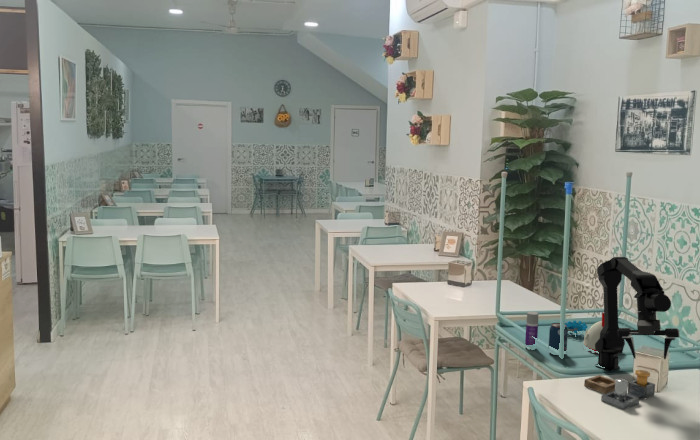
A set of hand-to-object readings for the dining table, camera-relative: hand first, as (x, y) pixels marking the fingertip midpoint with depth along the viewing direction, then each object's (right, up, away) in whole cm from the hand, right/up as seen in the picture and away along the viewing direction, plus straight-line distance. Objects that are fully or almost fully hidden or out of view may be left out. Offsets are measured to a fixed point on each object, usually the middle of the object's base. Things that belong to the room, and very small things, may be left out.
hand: (649, 358), depth 224 cm
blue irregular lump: (-3, -4, +68) cm, 69 cm away
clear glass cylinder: (-11, -14, -2) cm, 18 cm away
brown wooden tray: (-12, -12, +10) cm, 20 cm away
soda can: (-17, -7, +44) cm, 48 cm away
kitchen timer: (+3, -7, +50) cm, 51 cm away
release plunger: (-1, -9, +4) cm, 10 cm away
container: (-26, -6, +50) cm, 57 cm away
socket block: (-6, -14, +1) cm, 15 cm away
